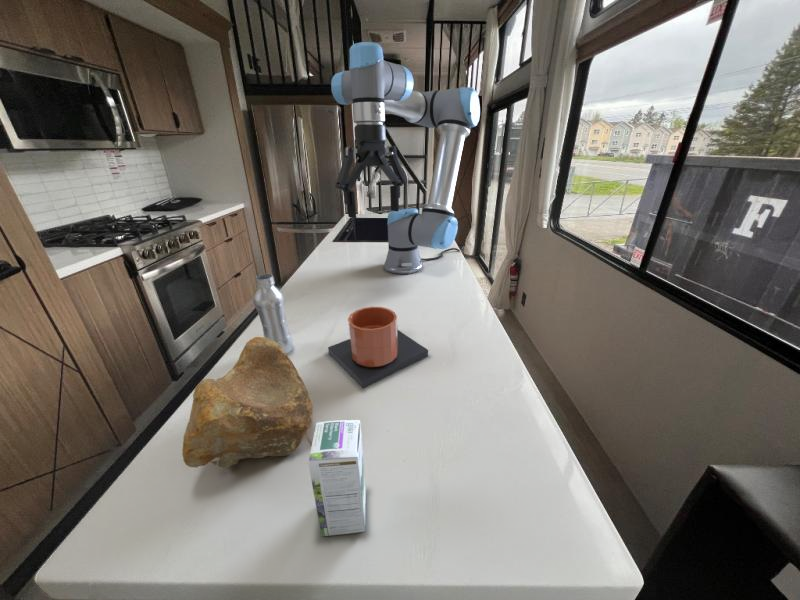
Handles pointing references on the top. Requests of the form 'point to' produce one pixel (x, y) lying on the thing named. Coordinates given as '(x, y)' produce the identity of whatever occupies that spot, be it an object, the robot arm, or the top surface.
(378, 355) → the terracotta pot
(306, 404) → the rough brown rock
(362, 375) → the scale
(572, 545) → the top surface
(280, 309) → the silver water bottle
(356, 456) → the syrup box
